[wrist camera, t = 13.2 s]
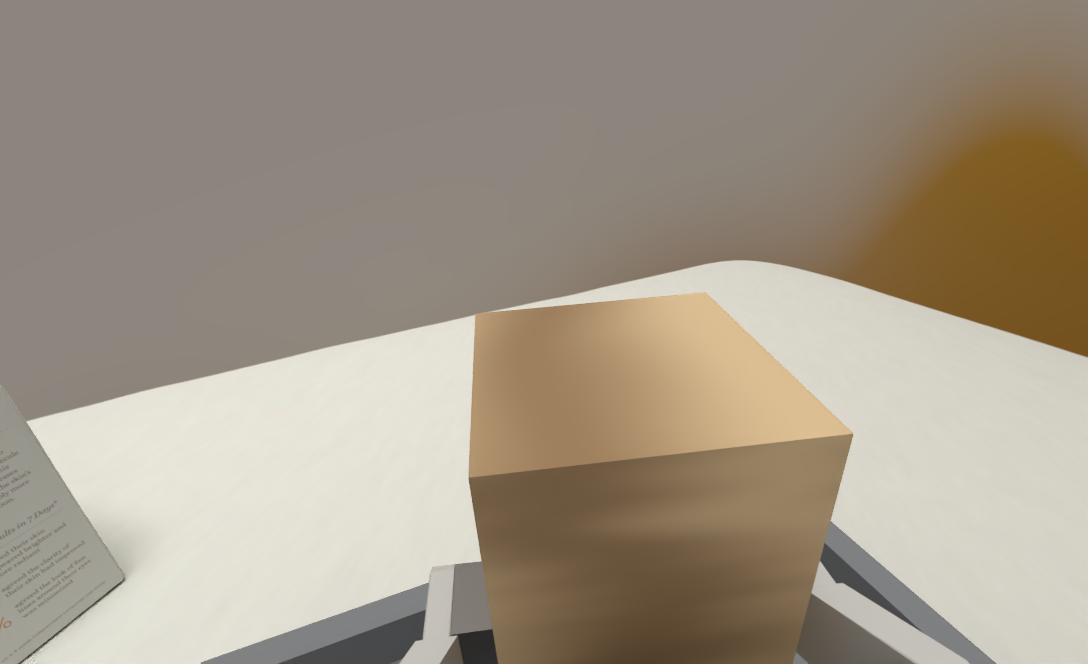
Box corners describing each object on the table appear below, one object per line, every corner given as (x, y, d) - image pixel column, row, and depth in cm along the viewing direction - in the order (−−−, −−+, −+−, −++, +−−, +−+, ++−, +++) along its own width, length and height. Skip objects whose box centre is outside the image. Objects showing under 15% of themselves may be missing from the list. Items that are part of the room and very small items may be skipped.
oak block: (674, 638, 16) (705, 292, 11) (744, 845, 12) (854, 433, 7) (519, 659, 16) (475, 314, 11) (532, 880, 12) (468, 477, 6)
